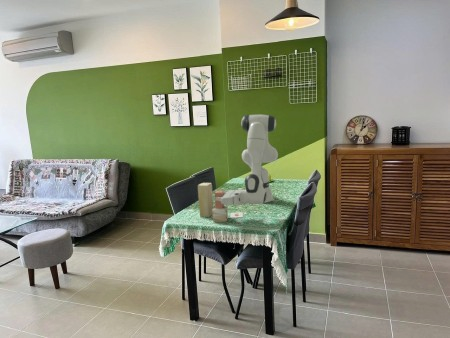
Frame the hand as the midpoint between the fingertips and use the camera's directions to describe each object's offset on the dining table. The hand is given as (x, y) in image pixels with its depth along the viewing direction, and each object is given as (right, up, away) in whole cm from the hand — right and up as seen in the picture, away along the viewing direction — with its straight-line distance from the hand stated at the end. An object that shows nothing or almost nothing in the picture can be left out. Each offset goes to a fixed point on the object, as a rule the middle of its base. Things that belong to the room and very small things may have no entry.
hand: (217, 196), depth 209 cm
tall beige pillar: (-8, -13, +13) cm, 20 cm away
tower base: (+2, -15, +3) cm, 15 cm away
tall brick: (+1, -7, +1) cm, 7 cm away
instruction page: (+12, -13, +10) cm, 20 cm away
